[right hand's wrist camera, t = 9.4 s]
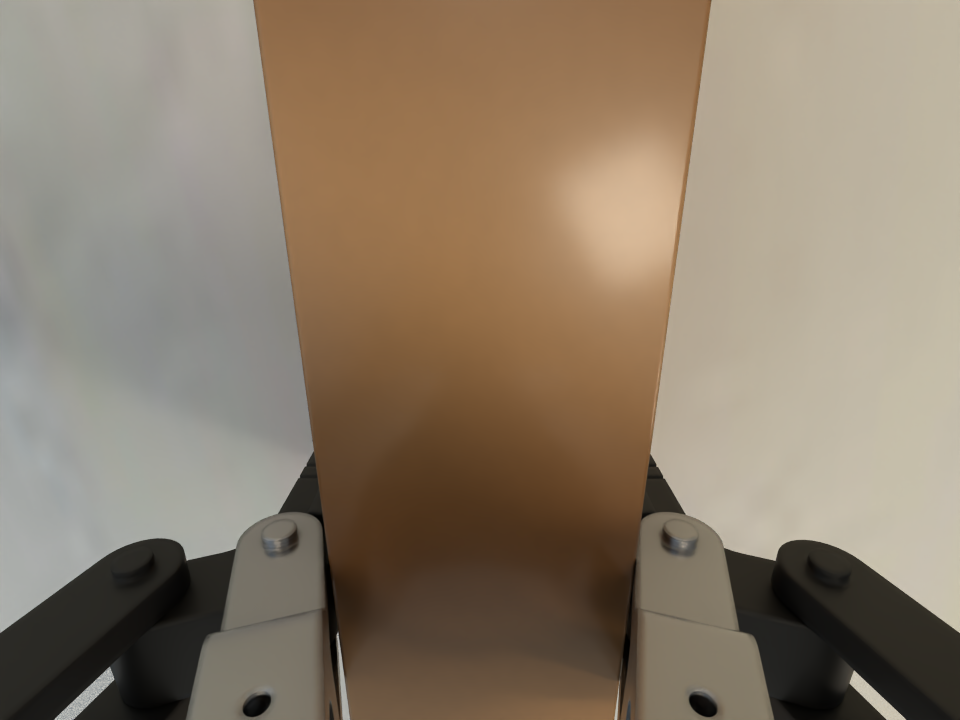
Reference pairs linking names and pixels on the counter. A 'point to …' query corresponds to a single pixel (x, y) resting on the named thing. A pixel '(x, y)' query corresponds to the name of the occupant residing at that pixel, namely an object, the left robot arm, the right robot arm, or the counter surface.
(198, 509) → the counter surface
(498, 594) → the bar
